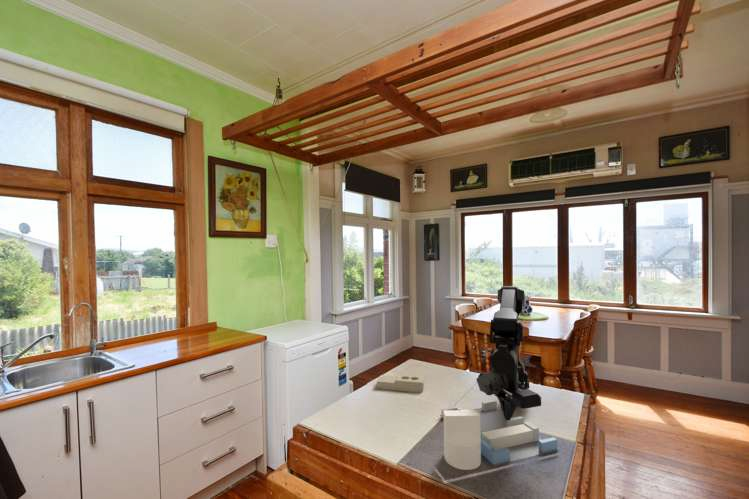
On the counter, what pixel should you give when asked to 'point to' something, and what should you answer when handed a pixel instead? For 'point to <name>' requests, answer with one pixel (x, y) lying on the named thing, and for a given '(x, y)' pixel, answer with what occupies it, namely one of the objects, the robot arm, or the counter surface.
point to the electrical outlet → (401, 382)
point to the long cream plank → (511, 435)
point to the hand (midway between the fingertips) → (507, 419)
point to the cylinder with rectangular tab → (462, 438)
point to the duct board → (496, 420)
